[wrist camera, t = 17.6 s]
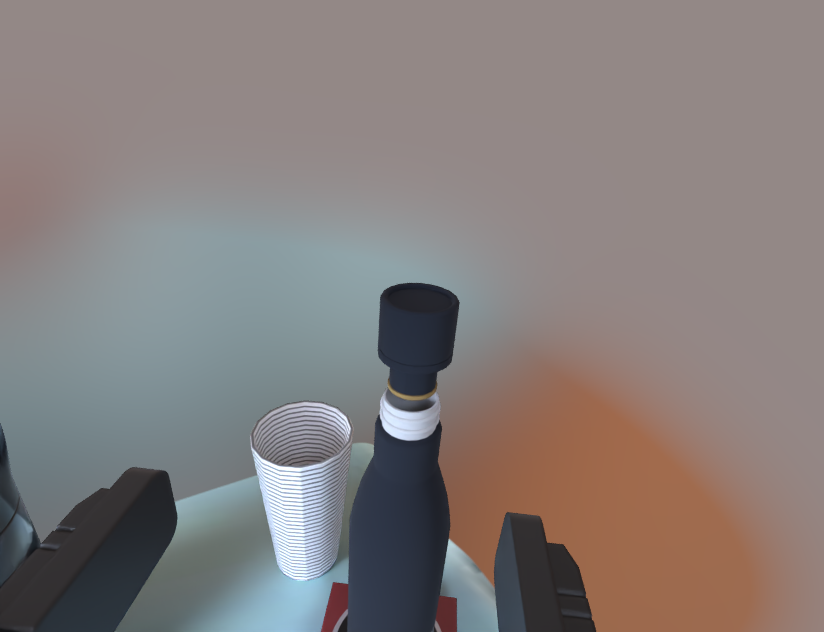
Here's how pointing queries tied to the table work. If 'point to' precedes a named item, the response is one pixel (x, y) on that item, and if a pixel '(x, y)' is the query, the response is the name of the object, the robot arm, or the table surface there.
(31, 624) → the robot arm
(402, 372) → the water bottle
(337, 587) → the hot plate
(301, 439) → the cup
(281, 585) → the table surface
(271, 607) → the table surface
